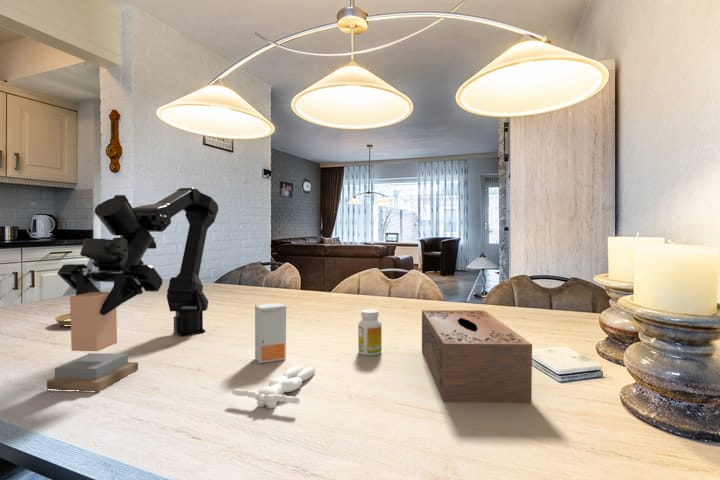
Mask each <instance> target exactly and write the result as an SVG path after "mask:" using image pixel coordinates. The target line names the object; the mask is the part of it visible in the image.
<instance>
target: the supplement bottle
mask: <svg viewBox="0 0 720 480" xmlns="http://www.w3.org/2000/svg"><path fill="white" fill-rule="evenodd" d="M360 316H361V319H360V320H359V321H358V328H357V329H358V331H357V332H358V333H357V335H358V338H357V339H358V340H357V341H358V344H357V345H358V349H357V350H358V353H359V355H363V356H367V357H368V356H378V355H380V354H381V353H382V347H383V346H382V321H381V320H380V319H379V310H377V309H375V308H374V309H371V308H367V309H362V310H361V313H360Z"/></svg>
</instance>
